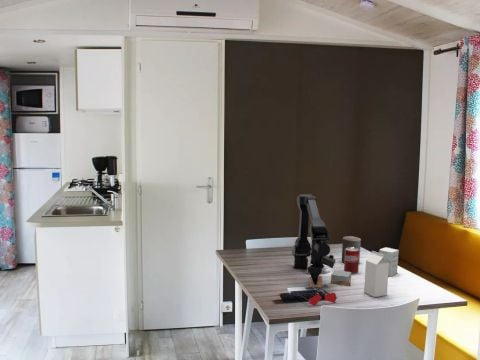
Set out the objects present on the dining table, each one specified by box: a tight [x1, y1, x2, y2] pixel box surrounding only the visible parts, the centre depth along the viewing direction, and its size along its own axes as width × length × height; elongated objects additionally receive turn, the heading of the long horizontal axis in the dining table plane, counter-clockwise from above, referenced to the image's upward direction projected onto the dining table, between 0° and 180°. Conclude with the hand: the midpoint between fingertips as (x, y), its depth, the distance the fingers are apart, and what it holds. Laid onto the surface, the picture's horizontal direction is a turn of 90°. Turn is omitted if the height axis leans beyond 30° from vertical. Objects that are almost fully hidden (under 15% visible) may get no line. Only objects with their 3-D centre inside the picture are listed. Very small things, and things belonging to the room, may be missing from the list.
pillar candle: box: [341, 235, 362, 265], centre depth 271 cm, size 10×10×15 cm
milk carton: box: [363, 250, 389, 298], centre depth 223 cm, size 7×7×19 cm
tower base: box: [330, 277, 352, 287], centre depth 239 cm, size 9×9×2 cm
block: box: [309, 274, 323, 288], centre depth 234 cm, size 5×5×4 cm
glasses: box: [295, 287, 338, 307], centre depth 217 cm, size 14×16×5 cm
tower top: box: [330, 269, 352, 282], centre depth 239 cm, size 8×8×2 cm
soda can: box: [343, 248, 360, 275], centre depth 255 cm, size 7×7×12 cm
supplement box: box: [378, 246, 400, 277], centre depth 253 cm, size 7×7×13 cm
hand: (316, 282), depth 234 cm, fingers closed on block, 5 cm apart
